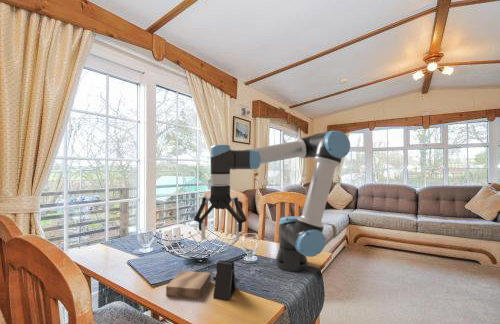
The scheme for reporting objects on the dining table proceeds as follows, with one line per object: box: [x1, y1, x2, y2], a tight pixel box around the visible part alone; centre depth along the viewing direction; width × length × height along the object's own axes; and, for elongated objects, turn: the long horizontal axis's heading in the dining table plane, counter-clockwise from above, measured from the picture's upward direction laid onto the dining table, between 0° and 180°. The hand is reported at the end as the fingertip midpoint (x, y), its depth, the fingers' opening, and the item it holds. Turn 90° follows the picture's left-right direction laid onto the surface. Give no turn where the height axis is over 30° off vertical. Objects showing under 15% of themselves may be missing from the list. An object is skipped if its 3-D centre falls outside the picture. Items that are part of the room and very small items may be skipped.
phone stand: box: [213, 260, 238, 301], centre depth 95 cm, size 9×6×12 cm, turn 164°
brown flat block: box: [165, 270, 212, 299], centre depth 98 cm, size 13×13×4 cm
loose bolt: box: [211, 271, 217, 279], centre depth 107 cm, size 8×4×4 cm, turn 82°
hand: (220, 239), depth 97 cm, fingers open, 13 cm apart
